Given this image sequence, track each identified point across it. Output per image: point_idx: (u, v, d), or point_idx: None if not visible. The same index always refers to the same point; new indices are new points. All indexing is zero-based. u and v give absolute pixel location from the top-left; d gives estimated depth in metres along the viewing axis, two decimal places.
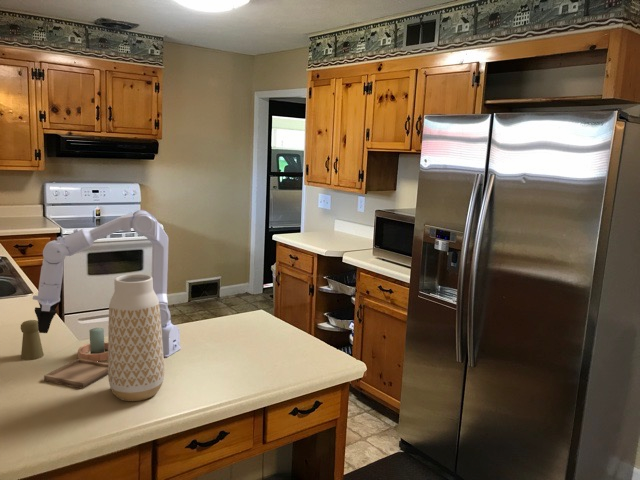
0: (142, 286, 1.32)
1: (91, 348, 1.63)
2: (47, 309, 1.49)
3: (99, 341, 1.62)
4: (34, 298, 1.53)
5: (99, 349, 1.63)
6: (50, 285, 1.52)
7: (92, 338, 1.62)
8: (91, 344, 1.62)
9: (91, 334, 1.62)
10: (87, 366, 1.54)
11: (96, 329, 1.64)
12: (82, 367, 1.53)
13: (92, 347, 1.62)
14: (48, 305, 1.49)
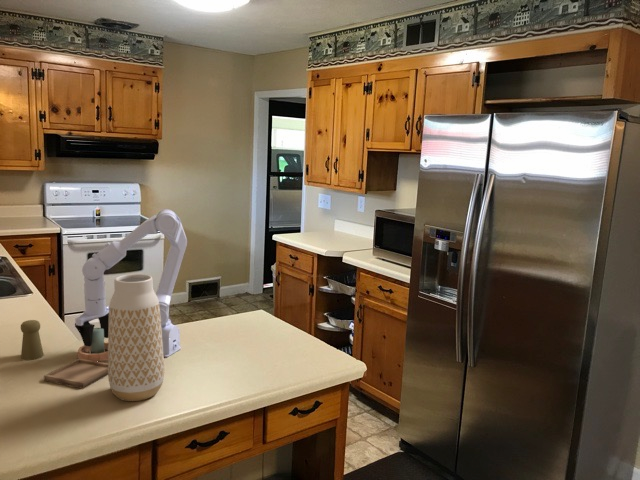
0: (142, 286, 1.32)
1: (91, 348, 1.63)
2: (79, 324, 1.56)
3: (99, 341, 1.62)
4: (83, 312, 1.62)
5: (99, 349, 1.63)
6: (89, 301, 1.59)
7: (92, 338, 1.62)
8: None
9: None
10: (87, 366, 1.54)
11: (96, 329, 1.64)
12: (82, 367, 1.53)
13: (92, 347, 1.62)
14: (79, 320, 1.55)
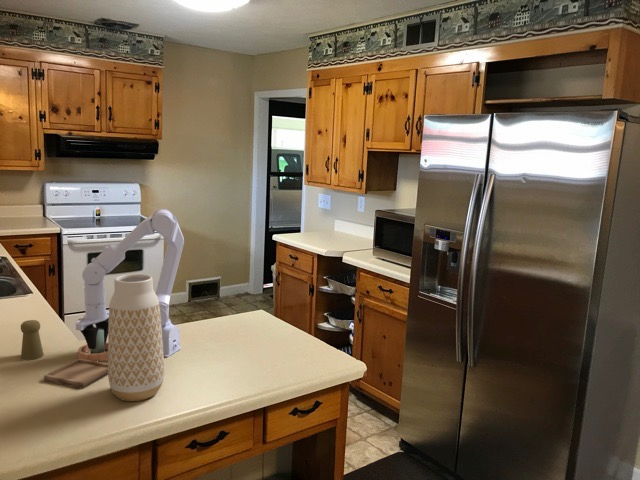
0: (142, 286, 1.32)
1: None
2: (80, 329, 1.56)
3: (99, 341, 1.62)
4: (84, 317, 1.63)
5: (99, 349, 1.63)
6: (89, 305, 1.59)
7: None
8: None
9: None
10: (87, 366, 1.54)
11: None
12: (82, 367, 1.53)
13: None
14: (80, 324, 1.56)
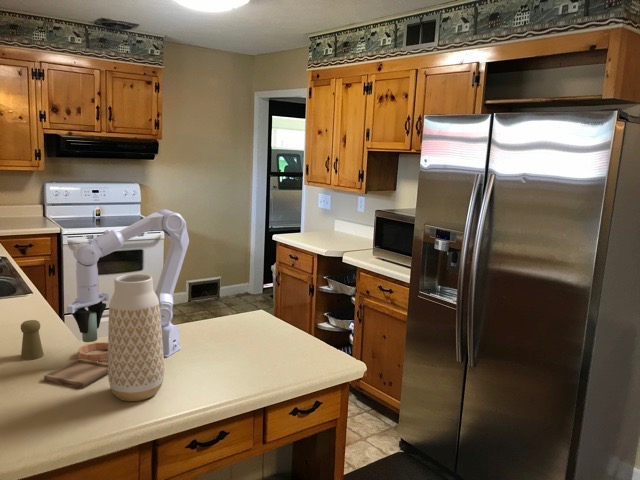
0: (142, 286, 1.32)
1: None
2: (71, 311, 1.49)
3: (92, 325, 1.55)
4: (75, 300, 1.56)
5: (92, 334, 1.56)
6: (81, 287, 1.52)
7: None
8: None
9: None
10: (87, 366, 1.54)
11: None
12: (82, 367, 1.53)
13: None
14: (71, 307, 1.49)
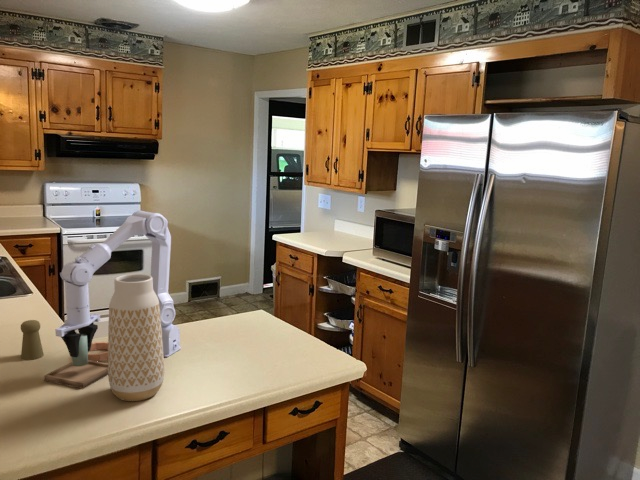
0: (142, 286, 1.32)
1: None
2: (60, 335, 1.41)
3: (82, 348, 1.47)
4: (65, 322, 1.48)
5: (82, 357, 1.48)
6: (71, 309, 1.44)
7: None
8: None
9: None
10: (87, 366, 1.54)
11: None
12: (82, 367, 1.53)
13: None
14: (60, 330, 1.41)
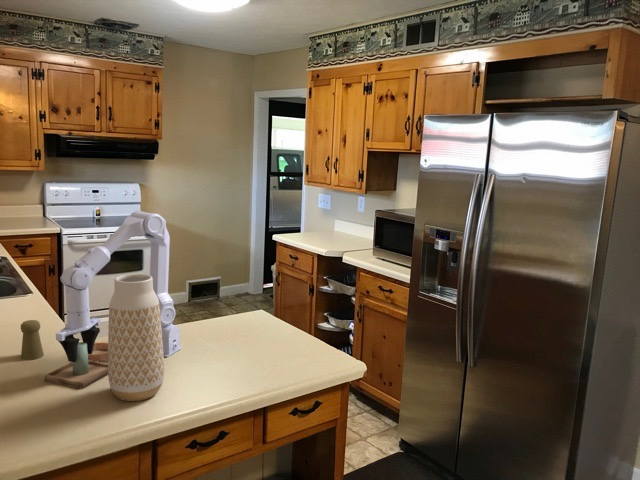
0: (142, 286, 1.32)
1: (73, 365, 1.48)
2: (60, 339, 1.41)
3: (82, 357, 1.48)
4: (65, 326, 1.48)
5: (82, 366, 1.48)
6: (71, 313, 1.44)
7: None
8: None
9: None
10: None
11: (78, 344, 1.49)
12: None
13: (75, 364, 1.47)
14: (60, 334, 1.41)
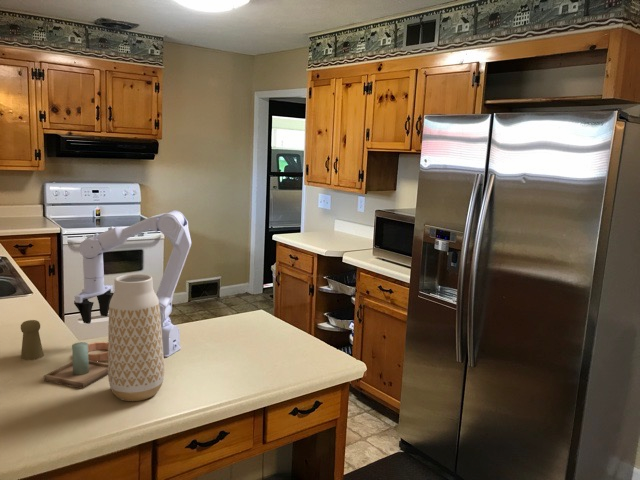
0: (142, 286, 1.32)
1: (74, 365, 1.48)
2: (79, 301, 1.59)
3: (83, 357, 1.48)
4: (82, 291, 1.66)
5: (83, 366, 1.48)
6: (88, 279, 1.62)
7: (75, 354, 1.47)
8: (74, 360, 1.48)
9: (74, 350, 1.47)
10: None
11: (79, 344, 1.49)
12: None
13: (75, 363, 1.48)
14: (79, 297, 1.59)
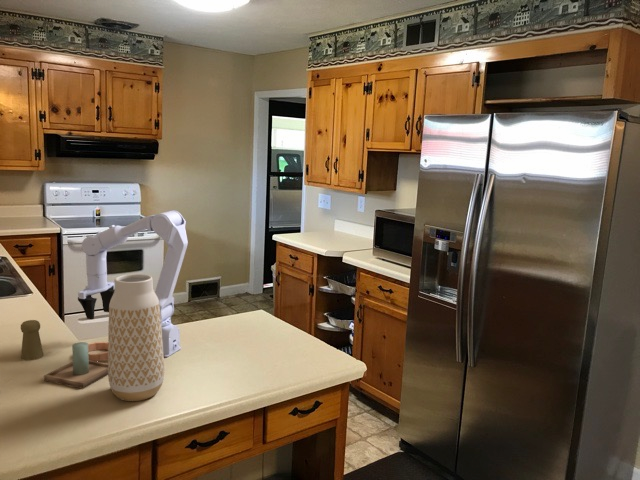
0: (142, 286, 1.32)
1: (74, 365, 1.48)
2: (82, 297, 1.63)
3: (83, 357, 1.48)
4: (86, 287, 1.70)
5: (83, 366, 1.48)
6: (91, 275, 1.66)
7: (75, 354, 1.47)
8: (74, 360, 1.48)
9: (74, 350, 1.47)
10: None
11: (80, 344, 1.49)
12: None
13: (75, 363, 1.48)
14: (82, 293, 1.63)
